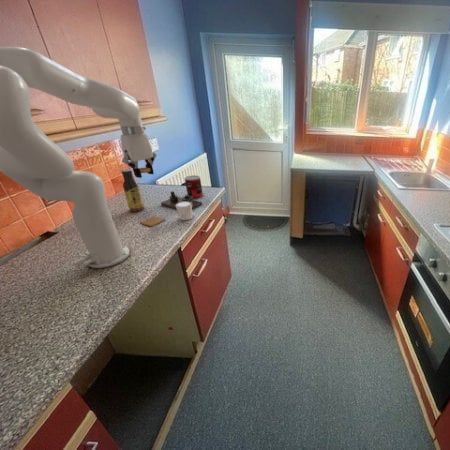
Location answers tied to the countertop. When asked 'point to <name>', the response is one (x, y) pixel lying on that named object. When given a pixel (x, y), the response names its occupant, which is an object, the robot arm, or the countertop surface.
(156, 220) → the cork mat
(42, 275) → the countertop surface
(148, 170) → the brass ring
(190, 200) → the wood ring
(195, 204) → the peg rack
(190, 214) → the white short cylinder
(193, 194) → the canned food
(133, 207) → the sauce bottle
